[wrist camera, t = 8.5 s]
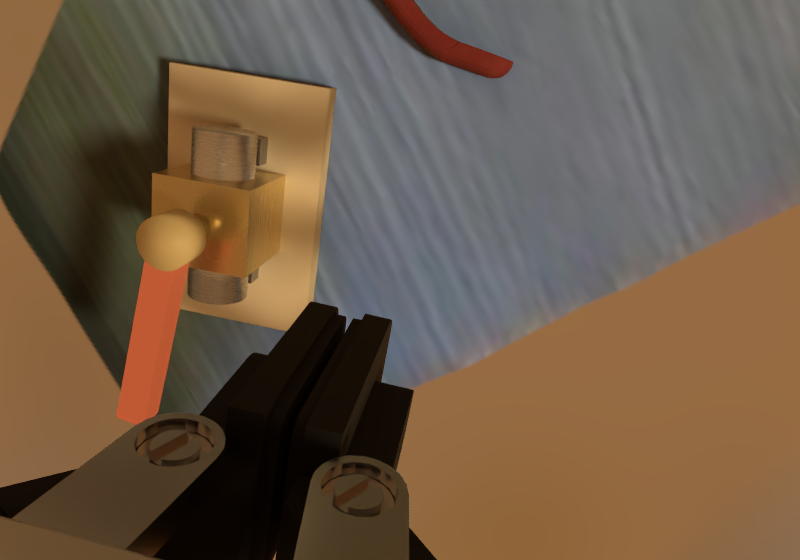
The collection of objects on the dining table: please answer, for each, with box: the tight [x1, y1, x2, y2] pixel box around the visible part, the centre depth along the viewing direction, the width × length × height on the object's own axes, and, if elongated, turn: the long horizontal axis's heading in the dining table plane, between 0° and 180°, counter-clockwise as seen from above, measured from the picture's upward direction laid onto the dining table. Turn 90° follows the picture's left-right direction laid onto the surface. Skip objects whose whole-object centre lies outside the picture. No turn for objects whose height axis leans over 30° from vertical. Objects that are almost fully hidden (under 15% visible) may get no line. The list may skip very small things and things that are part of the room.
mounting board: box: [168, 62, 336, 331], centre depth 39 cm, size 16×10×2 cm, turn 171°
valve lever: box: [116, 209, 206, 425], centre depth 32 cm, size 12×3×2 cm, turn 162°
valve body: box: [152, 125, 286, 305], centre depth 35 cm, size 10×6×7 cm, turn 171°
